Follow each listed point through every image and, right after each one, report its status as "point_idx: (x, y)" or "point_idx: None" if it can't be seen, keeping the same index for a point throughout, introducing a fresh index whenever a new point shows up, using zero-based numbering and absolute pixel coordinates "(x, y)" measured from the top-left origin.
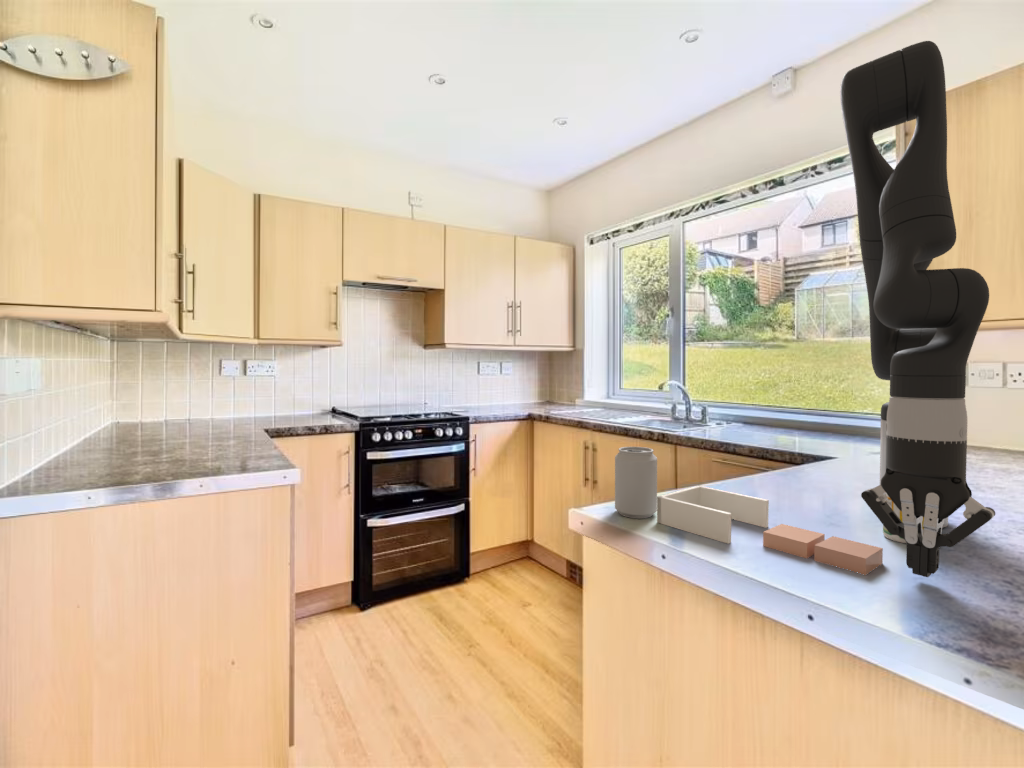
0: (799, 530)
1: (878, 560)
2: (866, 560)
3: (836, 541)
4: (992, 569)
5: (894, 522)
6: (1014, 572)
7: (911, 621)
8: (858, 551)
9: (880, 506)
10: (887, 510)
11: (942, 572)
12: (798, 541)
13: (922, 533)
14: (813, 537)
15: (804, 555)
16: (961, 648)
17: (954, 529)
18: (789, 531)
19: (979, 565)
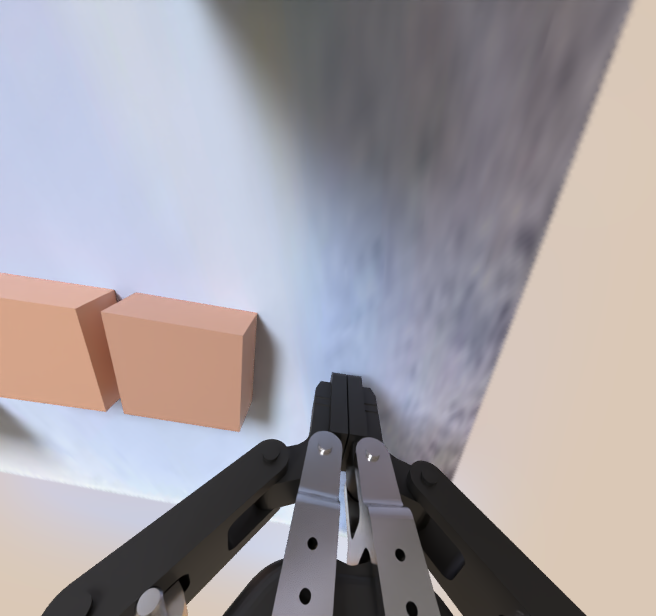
0: (13, 322)
1: (250, 348)
2: (241, 424)
3: (137, 357)
4: (525, 128)
5: (261, 526)
6: (591, 106)
7: (340, 505)
8: (210, 397)
9: (190, 597)
10: (216, 556)
11: (381, 277)
12: (85, 407)
13: (341, 459)
14: (82, 360)
15: None
16: None
17: (435, 578)
18: (10, 350)
19: (494, 108)
